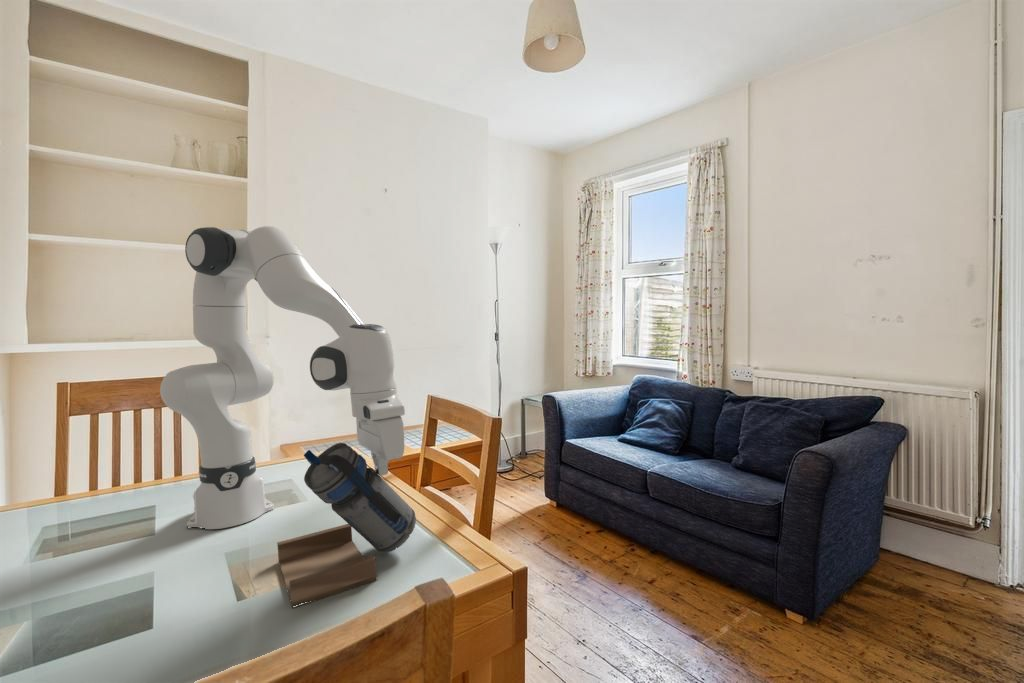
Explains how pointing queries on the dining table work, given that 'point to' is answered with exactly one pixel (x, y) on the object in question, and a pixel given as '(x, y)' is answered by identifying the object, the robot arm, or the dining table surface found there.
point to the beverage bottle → (360, 496)
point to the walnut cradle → (323, 564)
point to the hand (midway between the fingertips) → (381, 473)
